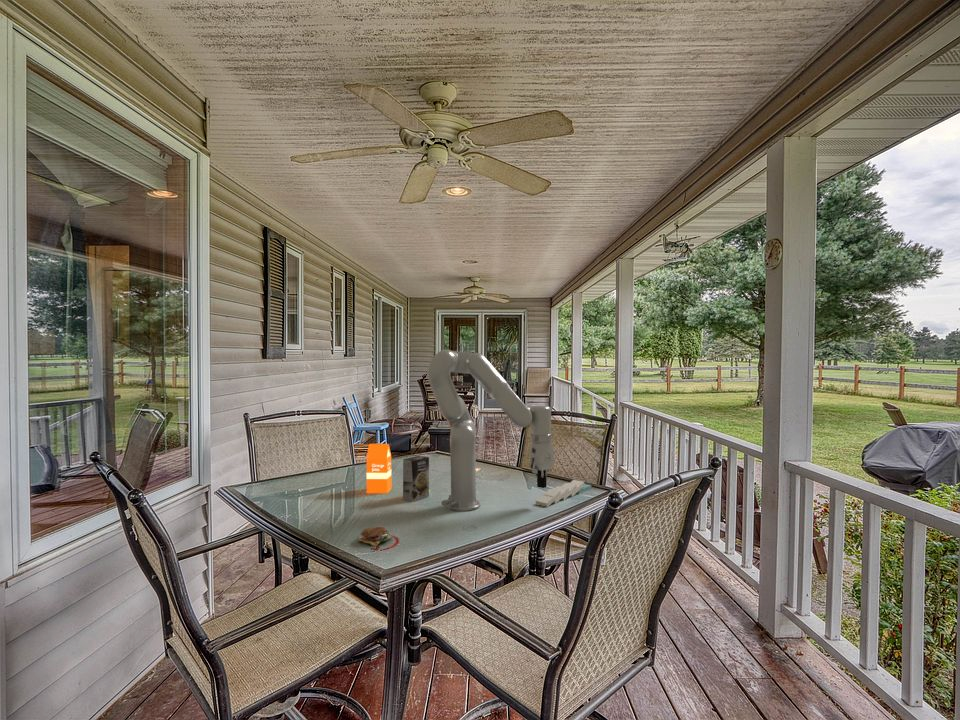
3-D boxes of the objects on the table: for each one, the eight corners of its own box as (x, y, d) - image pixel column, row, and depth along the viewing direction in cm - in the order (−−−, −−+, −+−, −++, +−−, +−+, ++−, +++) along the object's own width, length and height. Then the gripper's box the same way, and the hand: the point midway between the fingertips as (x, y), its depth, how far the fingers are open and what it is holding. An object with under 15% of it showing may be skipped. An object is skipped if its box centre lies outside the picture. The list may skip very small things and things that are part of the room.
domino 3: (563, 496, 177) (576, 484, 184) (552, 494, 180) (565, 482, 187) (564, 500, 177) (577, 488, 184) (553, 497, 181) (566, 486, 188)
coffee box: (413, 502, 176) (413, 460, 177) (402, 499, 180) (402, 458, 180) (429, 496, 184) (429, 456, 184) (418, 493, 188) (418, 455, 188)
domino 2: (555, 499, 172) (568, 487, 180) (544, 497, 176) (557, 485, 183) (555, 503, 173) (569, 491, 180) (544, 501, 176) (558, 489, 183)
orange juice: (371, 488, 197) (371, 442, 197) (391, 488, 196) (391, 442, 197) (366, 493, 189) (366, 445, 189) (387, 493, 189) (387, 445, 189)
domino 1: (546, 503, 168) (560, 490, 175) (535, 500, 172) (549, 488, 179) (547, 507, 168) (561, 494, 176) (536, 504, 172) (550, 492, 179)
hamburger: (341, 547, 134) (341, 527, 134) (375, 532, 146) (375, 513, 146) (375, 557, 127) (375, 535, 127) (408, 540, 138) (408, 521, 138)
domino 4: (571, 493, 181) (583, 481, 188) (561, 490, 185) (573, 479, 192) (572, 496, 182) (584, 485, 189) (561, 494, 185) (574, 483, 192)
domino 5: (579, 490, 185) (591, 485, 193) (568, 488, 189) (581, 483, 196) (579, 494, 185) (591, 489, 193) (568, 492, 189) (581, 487, 196)
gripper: (537, 442, 163) (538, 493, 162) (560, 437, 174) (561, 484, 173) (521, 439, 168) (521, 489, 167) (544, 435, 179) (544, 481, 178)
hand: (541, 486), depth 170 cm, fingers closed
